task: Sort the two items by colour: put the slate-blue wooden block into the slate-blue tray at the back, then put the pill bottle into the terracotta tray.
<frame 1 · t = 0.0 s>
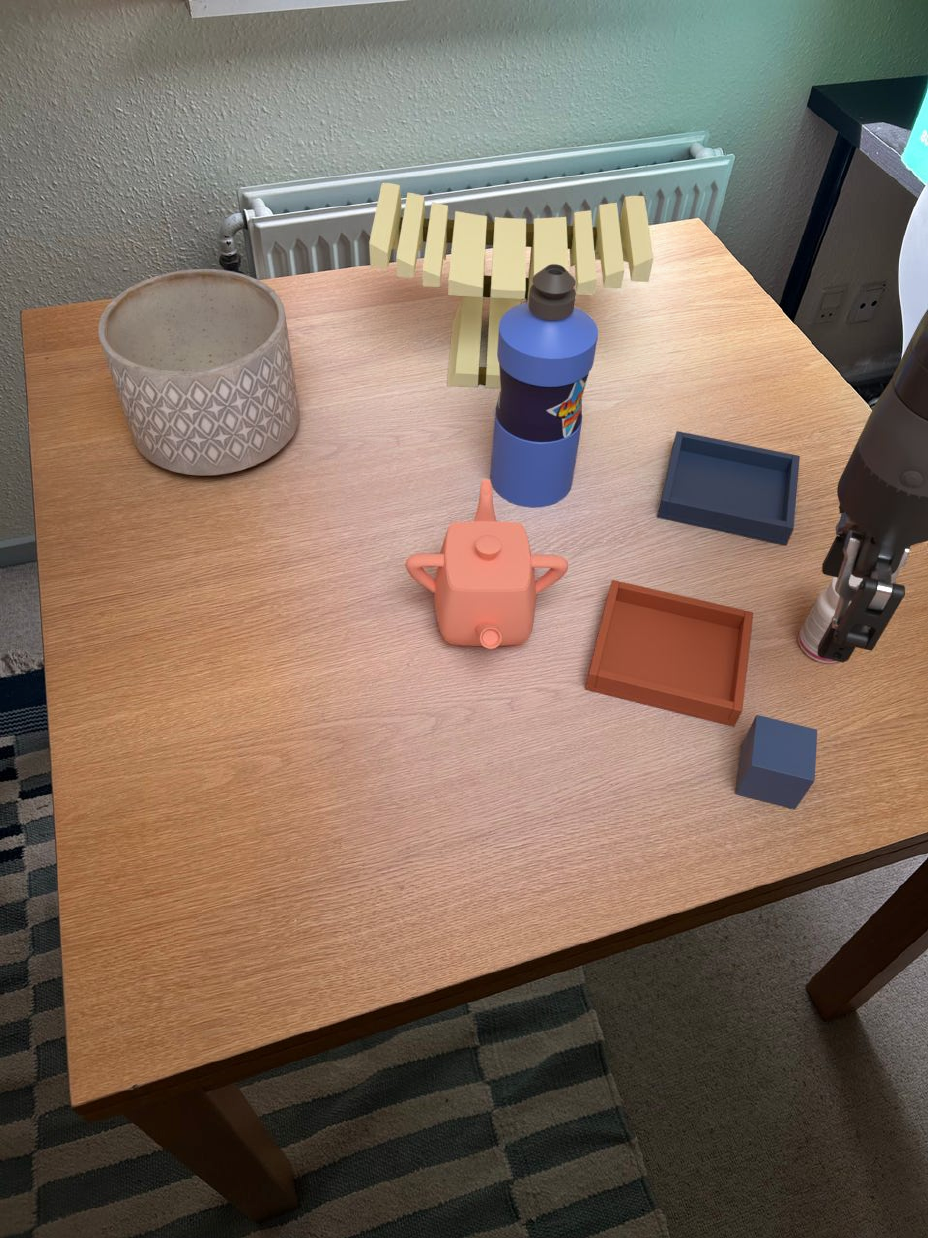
hand: (832, 613, 70), 15 cm above the table, tool pointing down, fingers open, 8 cm apart
pill bottle: (821, 646, 88), on the table
teapot: (483, 615, 89), on the table
slatted curved stool: (502, 350, 115), on the table
blue tray: (726, 494, 100), on the table
water bottle: (531, 479, 101), on the table
planter: (218, 430, 104), on the table
terracotta tray: (667, 658, 86), on the table
blue block: (767, 776, 78), on the table
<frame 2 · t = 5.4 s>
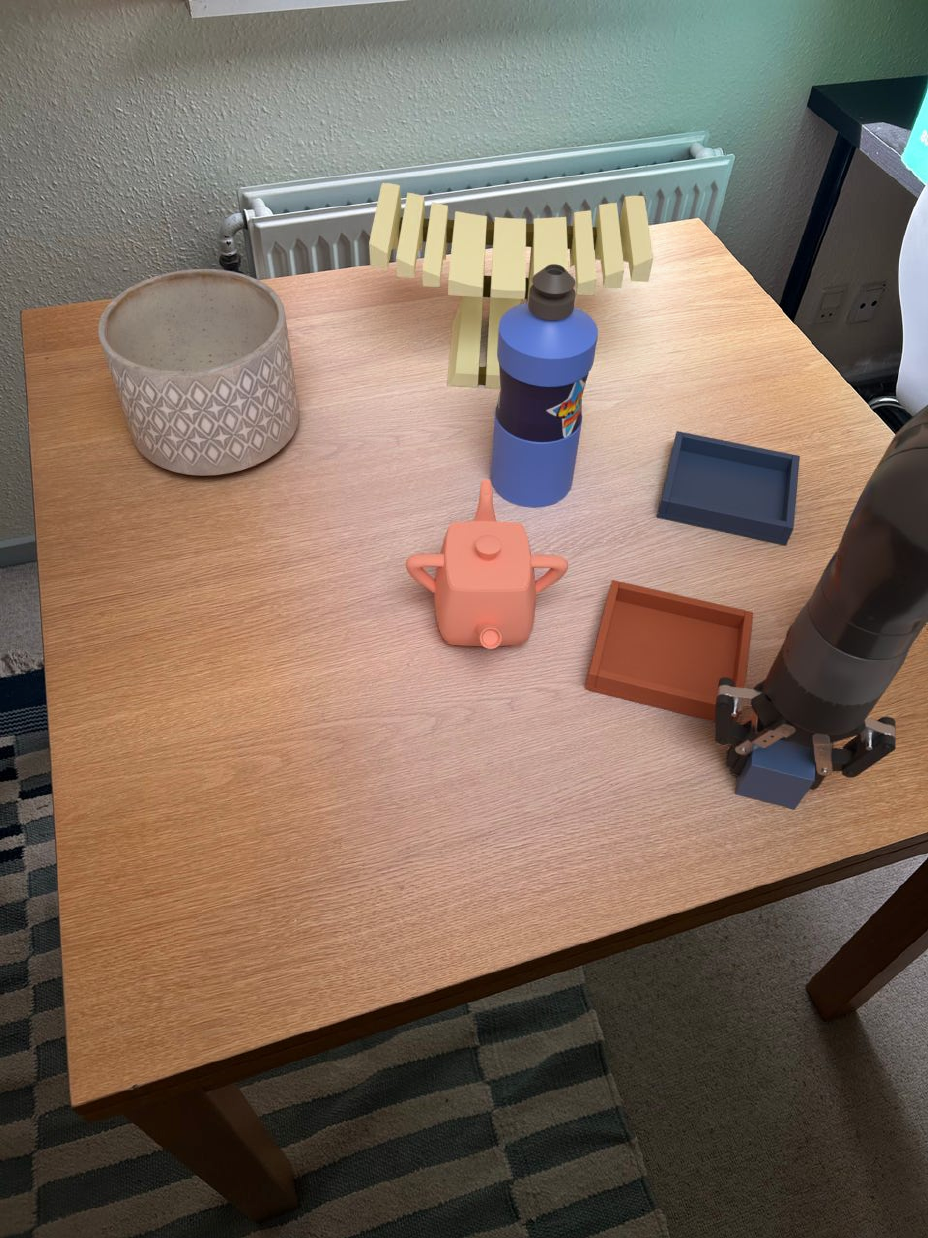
hand: (768, 774, 78), 0 cm above the table, tool pointing down, fingers closed on blue block, 5 cm apart
blue block: (767, 776, 78), on the table, touching gripper
everything else where it was.
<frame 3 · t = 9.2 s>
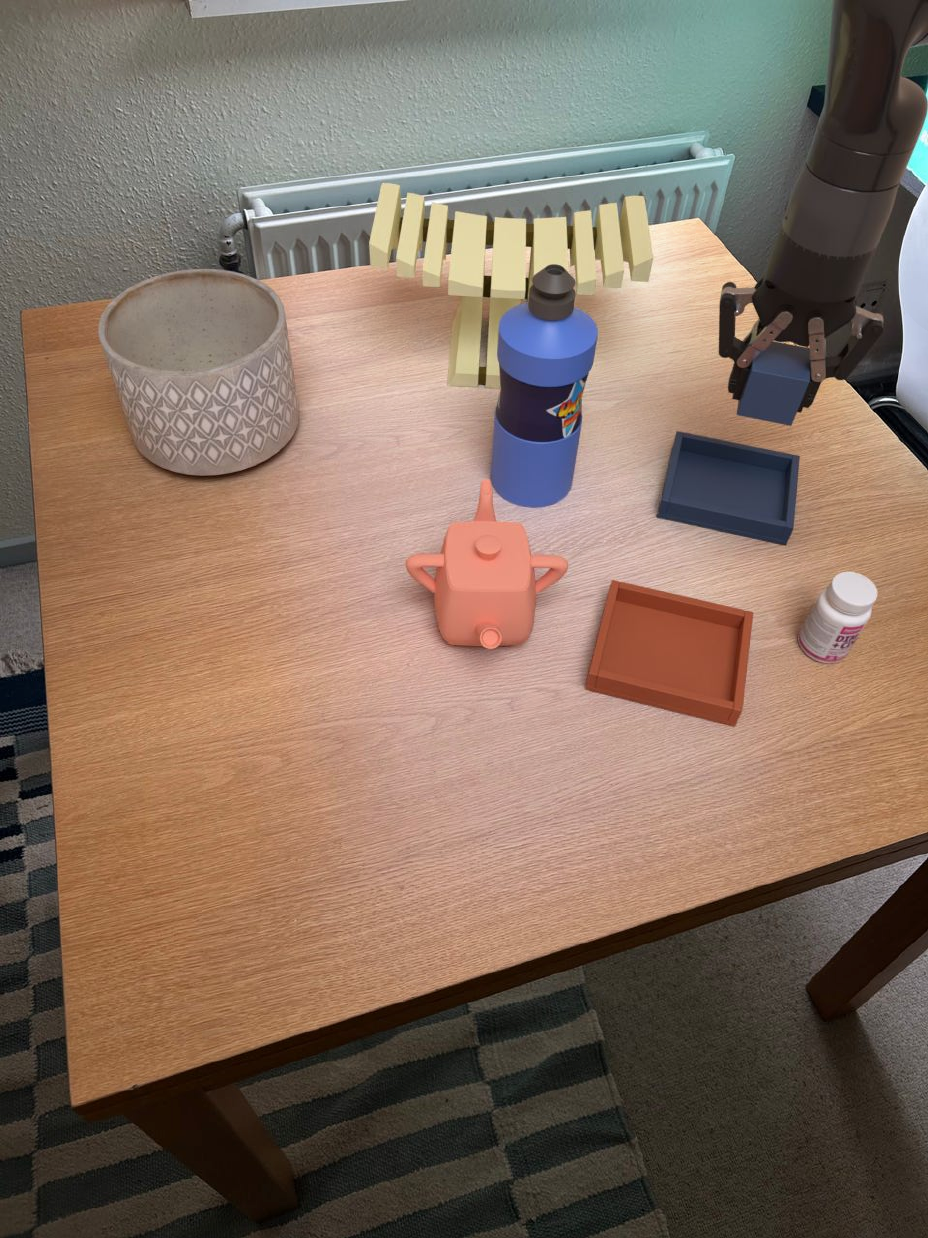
hand: (767, 400, 85), 16 cm above the table, tool pointing down, fingers closed on blue block, 5 cm apart
blue block: (765, 403, 85), point 16 cm above the table, touching gripper
everything else where it was.
when the fingers open (1 cm above the table, at t = 13.3 s): blue block stays where it is, resting on blue tray.
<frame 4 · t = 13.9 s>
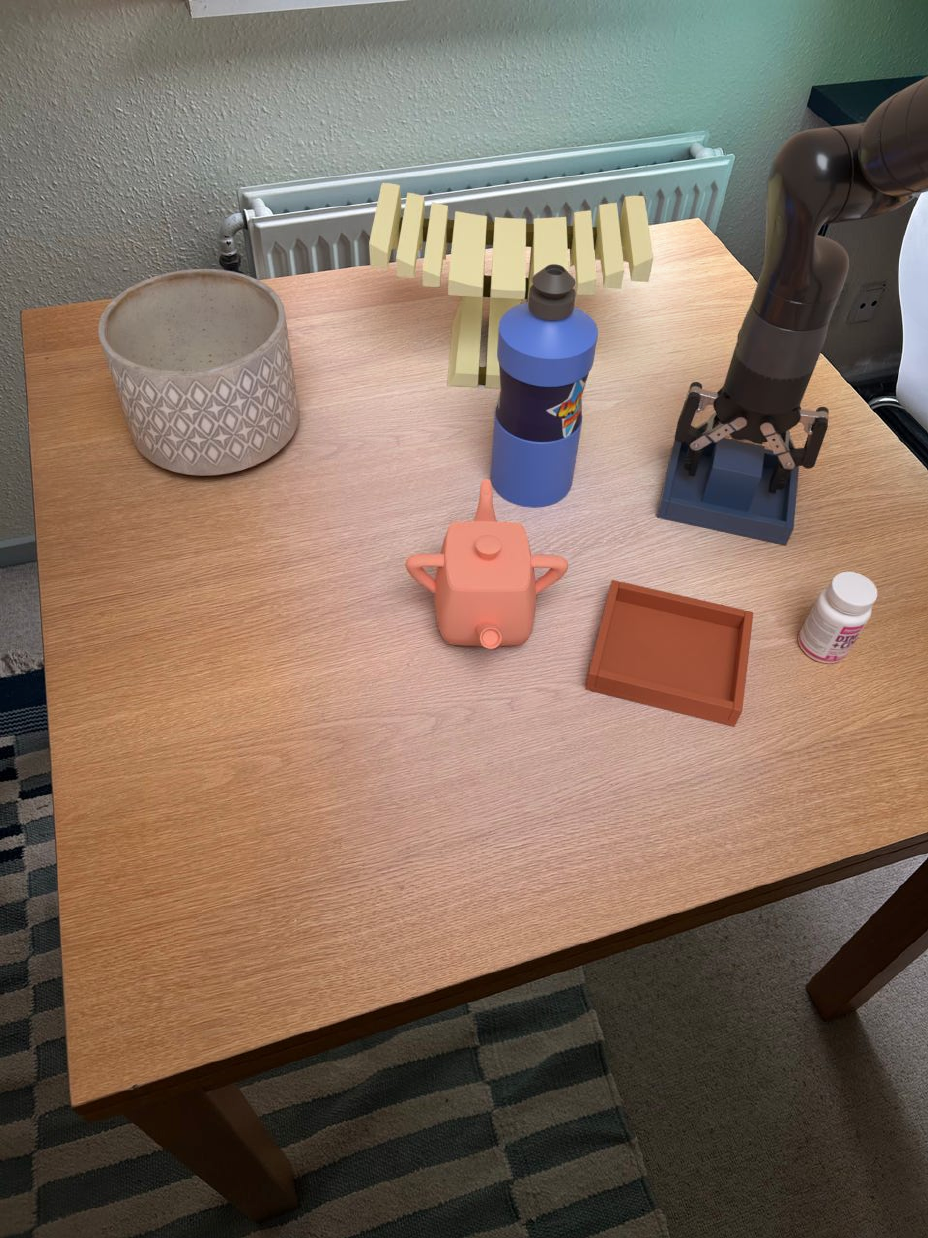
hand: (732, 479, 98), 2 cm above the table, tool pointing down, fingers open, 8 cm apart
blue block: (727, 491, 99), point 1 cm above the table, touching blue tray
everything else where it was.
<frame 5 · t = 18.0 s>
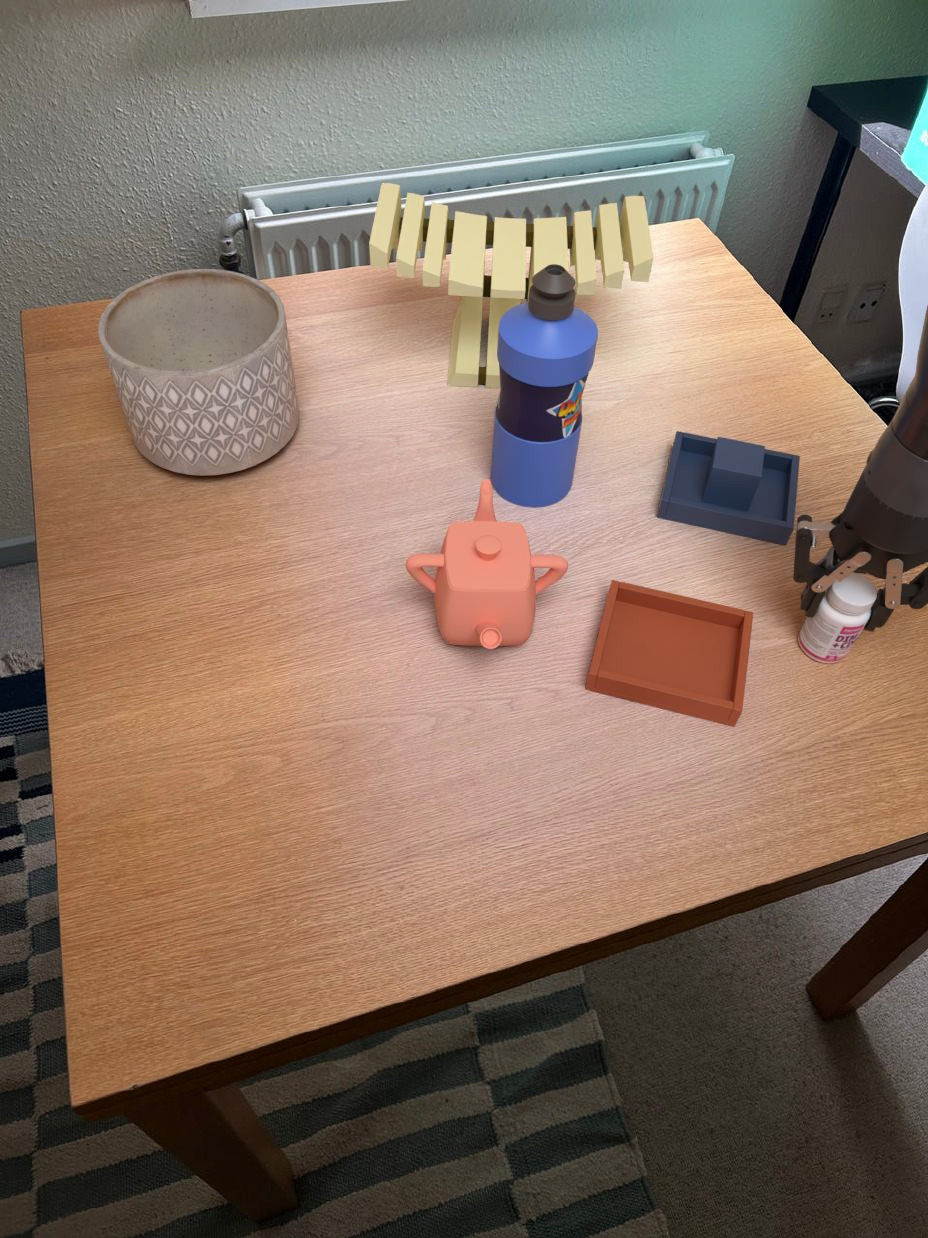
hand: (838, 616, 84), 4 cm above the table, tool pointing down, fingers closed on pill bottle, 4 cm apart
pill bottle: (821, 646, 88), on the table, touching gripper
everything else where it was.
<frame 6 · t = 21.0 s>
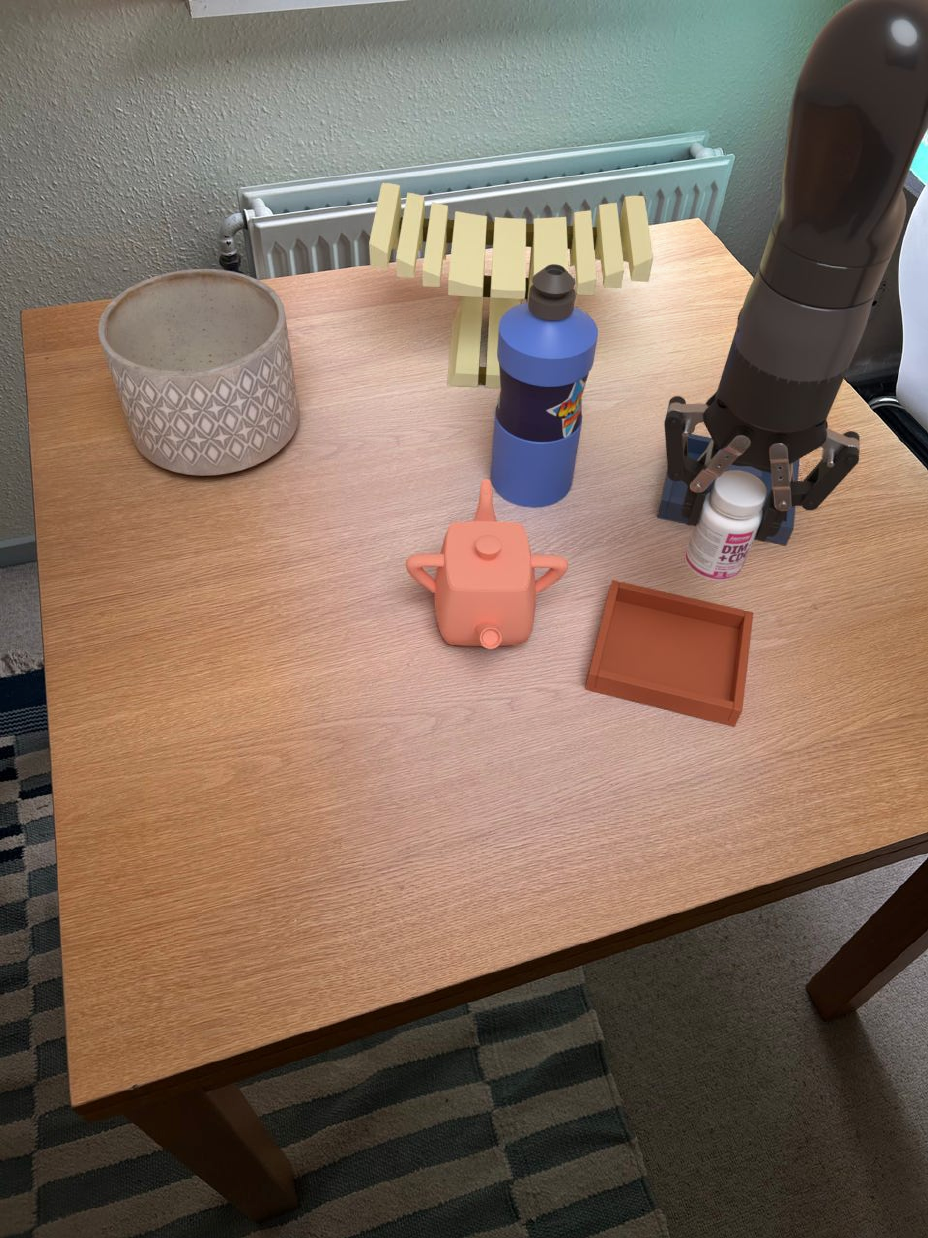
hand: (726, 525, 72), 18 cm above the table, tool pointing down, fingers closed on pill bottle, 4 cm apart
pill bottle: (712, 563, 76), point 13 cm above the table, touching gripper
everything else where it was.
when the fingers open (5 cm above the table, at t = 24.3 s): pill bottle stays where it is, resting on terracotta tray.
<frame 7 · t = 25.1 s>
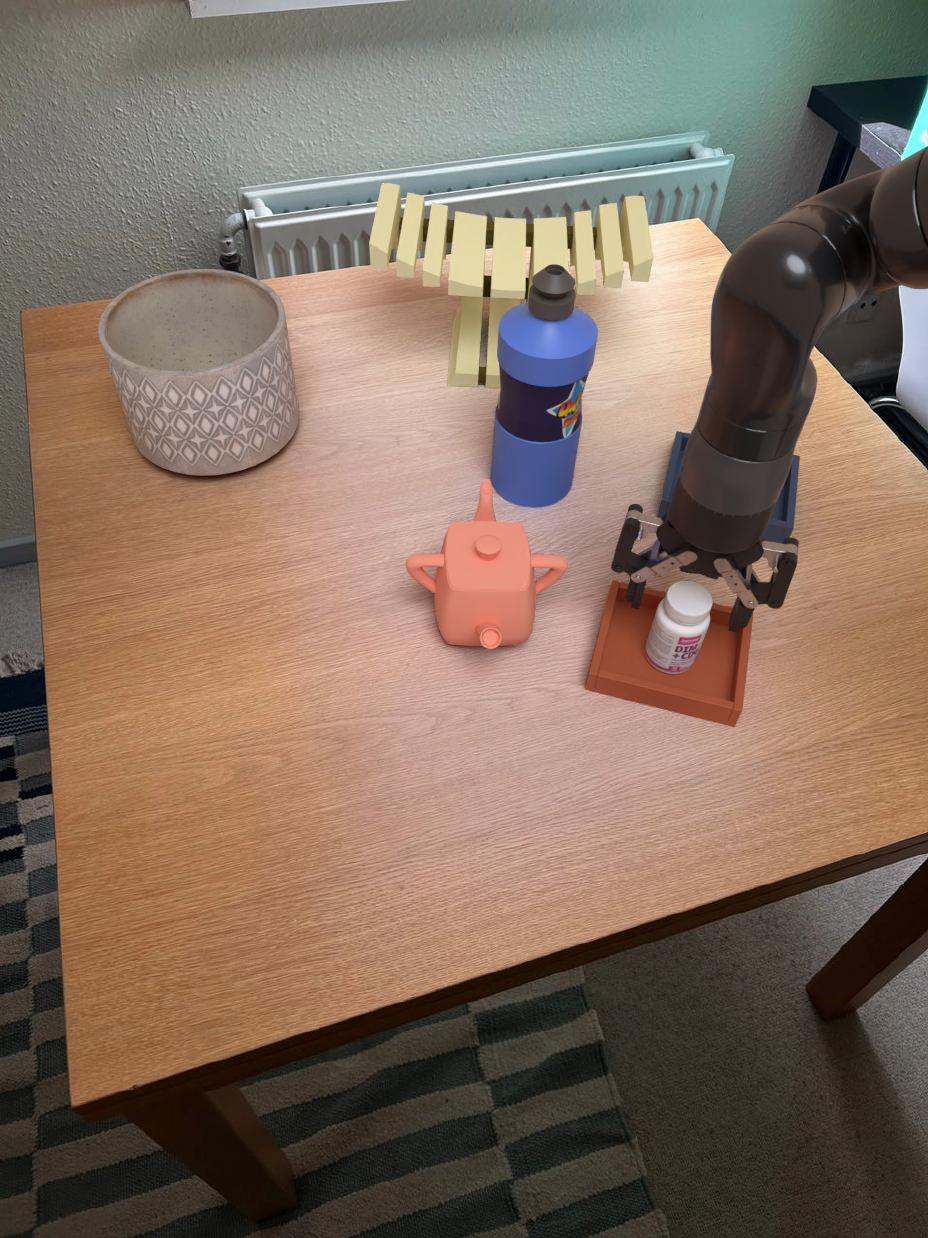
hand: (684, 613, 81), 7 cm above the table, tool pointing down, fingers open, 8 cm apart
pill bottle: (669, 656, 86), resting on terracotta tray
everything else where it was.
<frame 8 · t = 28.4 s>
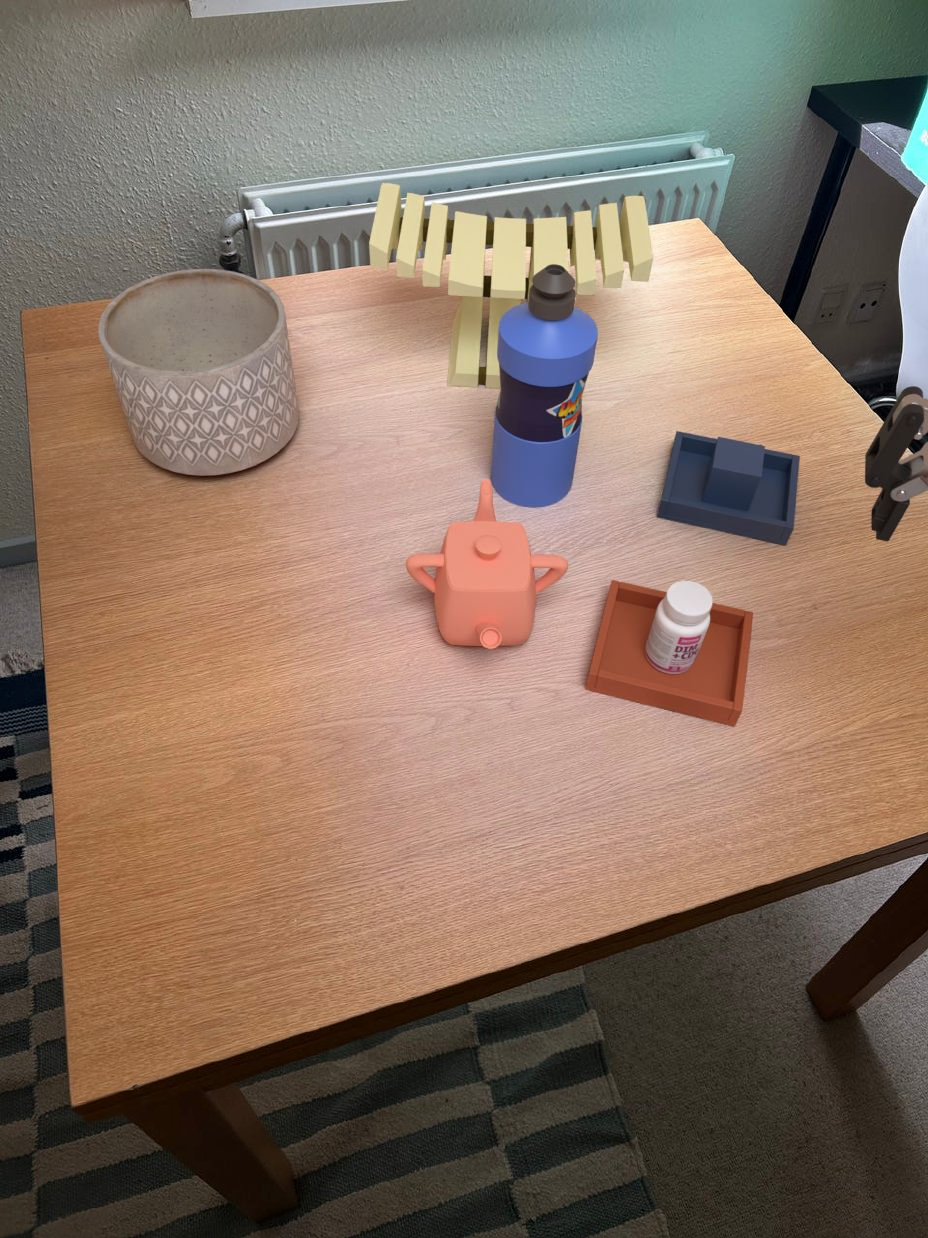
nothing on the table moved.
at the end: blue block inside the target area in the blue tray (0.1 cm from its centre), point 0.6 cm above the blue tray's base; pill bottle inside the target area in the terracotta tray (0.0 cm from its centre), point 0.4 cm above the terracotta tray's base; pill bottle tilted 0° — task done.
